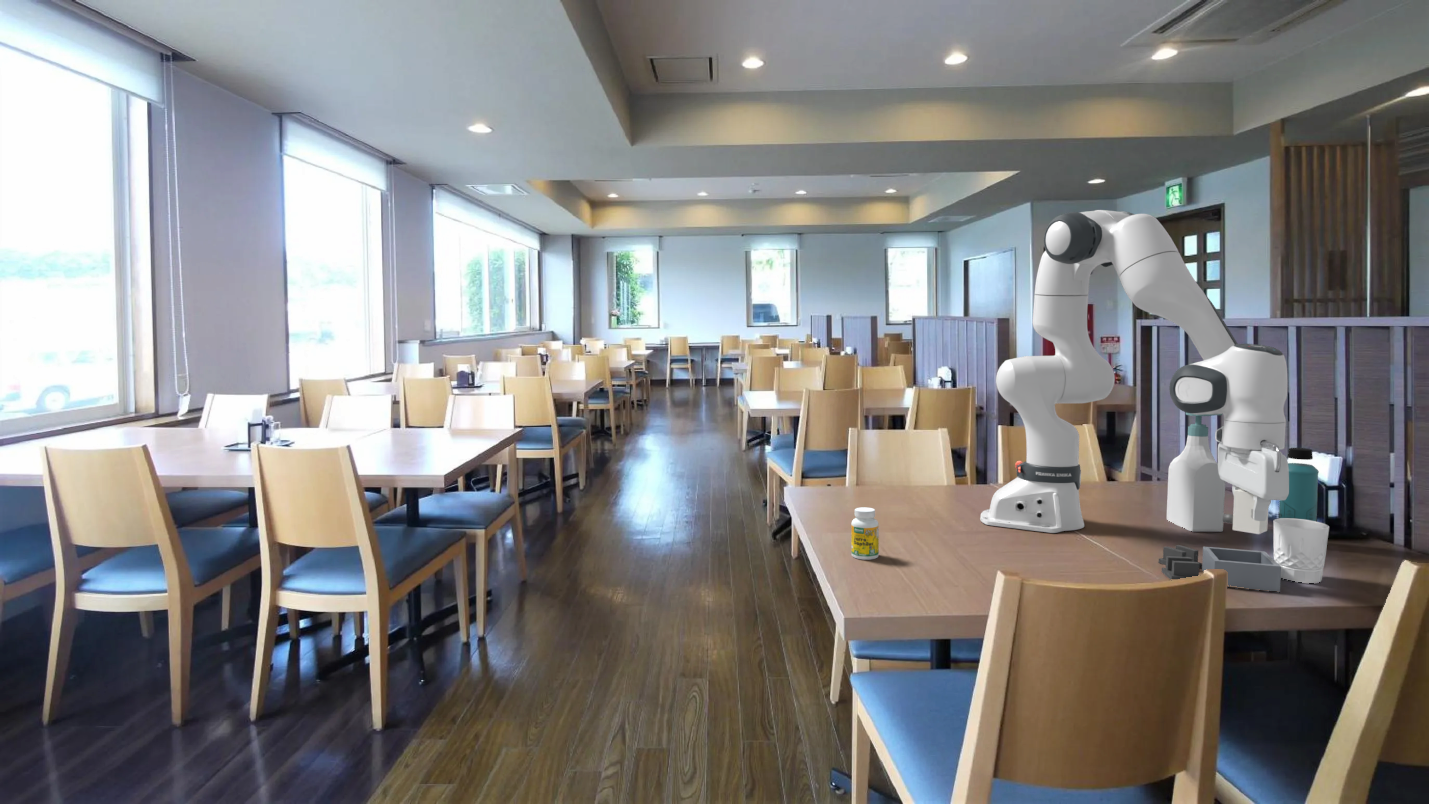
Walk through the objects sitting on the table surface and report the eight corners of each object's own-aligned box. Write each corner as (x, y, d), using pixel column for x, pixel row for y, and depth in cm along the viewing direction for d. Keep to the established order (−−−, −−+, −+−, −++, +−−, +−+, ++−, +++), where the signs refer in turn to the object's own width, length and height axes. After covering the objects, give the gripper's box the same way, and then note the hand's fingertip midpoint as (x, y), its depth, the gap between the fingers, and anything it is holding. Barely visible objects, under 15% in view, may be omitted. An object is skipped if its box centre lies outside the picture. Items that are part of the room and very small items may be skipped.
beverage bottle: (1322, 547, 156) (1328, 450, 154) (1286, 546, 157) (1291, 450, 156) (1305, 539, 162) (1310, 446, 161) (1269, 537, 164) (1274, 445, 162)
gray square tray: (1213, 585, 133) (1214, 560, 133) (1202, 570, 142) (1203, 546, 142) (1279, 592, 130) (1281, 566, 129) (1263, 575, 138) (1265, 551, 138)
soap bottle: (1231, 532, 168) (1237, 408, 166) (1192, 532, 169) (1198, 408, 167) (1202, 520, 179) (1208, 404, 177) (1166, 520, 180) (1171, 404, 177)
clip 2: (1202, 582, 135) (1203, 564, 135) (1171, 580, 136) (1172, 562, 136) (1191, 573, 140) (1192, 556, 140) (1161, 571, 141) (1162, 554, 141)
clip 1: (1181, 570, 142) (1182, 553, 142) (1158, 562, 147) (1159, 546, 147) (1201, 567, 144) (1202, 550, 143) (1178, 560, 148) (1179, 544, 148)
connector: (1219, 527, 136) (1221, 488, 136) (1228, 524, 139) (1229, 486, 138) (1259, 534, 132) (1261, 494, 131) (1267, 530, 134) (1269, 491, 134)
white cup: (1259, 572, 141) (1262, 518, 140) (1299, 570, 141) (1302, 517, 141) (1295, 585, 133) (1298, 529, 132) (1337, 584, 134) (1341, 528, 133)
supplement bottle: (879, 553, 155) (880, 507, 154) (877, 561, 150) (877, 513, 149) (852, 551, 156) (853, 505, 156) (849, 559, 151) (849, 511, 151)
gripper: (1303, 445, 122) (1298, 530, 123) (1250, 431, 142) (1246, 504, 143) (1257, 444, 124) (1254, 528, 125) (1211, 430, 144) (1208, 502, 145)
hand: (1249, 515), depth 134 cm, fingers closed on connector, 6 cm apart
